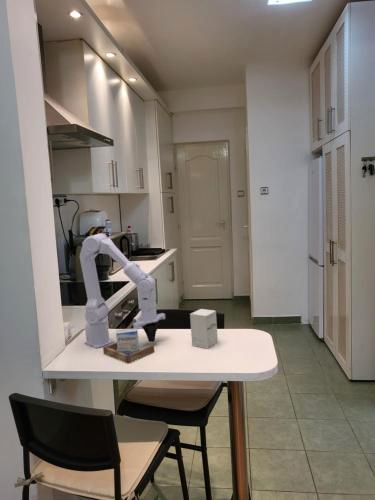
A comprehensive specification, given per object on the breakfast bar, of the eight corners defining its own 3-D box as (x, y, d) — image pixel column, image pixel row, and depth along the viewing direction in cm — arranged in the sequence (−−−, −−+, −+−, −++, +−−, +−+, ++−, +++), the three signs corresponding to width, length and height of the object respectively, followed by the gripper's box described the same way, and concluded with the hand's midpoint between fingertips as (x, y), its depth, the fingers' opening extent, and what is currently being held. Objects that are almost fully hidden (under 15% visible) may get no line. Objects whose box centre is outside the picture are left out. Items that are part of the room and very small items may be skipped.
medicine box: (118, 356, 151) (115, 333, 149) (118, 351, 155) (116, 329, 154) (139, 353, 152) (137, 331, 150) (139, 349, 156) (137, 327, 155)
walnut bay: (103, 353, 154) (103, 347, 154) (129, 343, 162) (128, 337, 162) (128, 363, 143) (127, 356, 143) (154, 352, 152) (153, 345, 151)
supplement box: (207, 349, 151) (205, 316, 149) (191, 345, 155) (189, 313, 154) (218, 342, 157) (216, 310, 155) (202, 339, 161) (200, 308, 159)
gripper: (140, 314, 151) (143, 349, 153) (169, 304, 161) (172, 337, 163) (128, 311, 156) (132, 345, 158) (157, 301, 166) (160, 333, 168)
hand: (151, 341), depth 160 cm, fingers closed
